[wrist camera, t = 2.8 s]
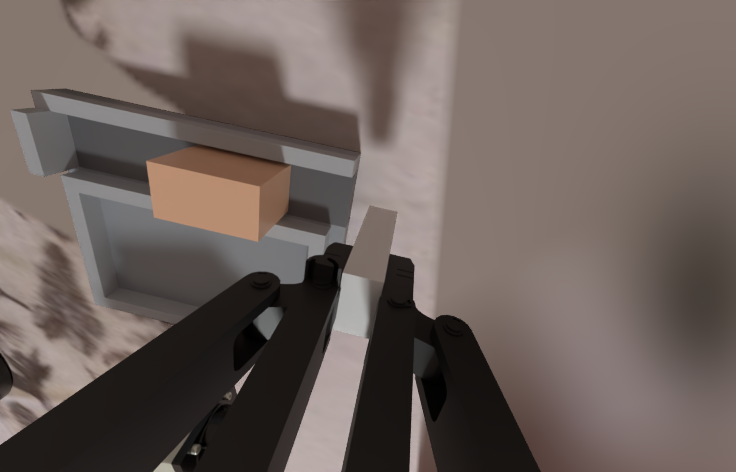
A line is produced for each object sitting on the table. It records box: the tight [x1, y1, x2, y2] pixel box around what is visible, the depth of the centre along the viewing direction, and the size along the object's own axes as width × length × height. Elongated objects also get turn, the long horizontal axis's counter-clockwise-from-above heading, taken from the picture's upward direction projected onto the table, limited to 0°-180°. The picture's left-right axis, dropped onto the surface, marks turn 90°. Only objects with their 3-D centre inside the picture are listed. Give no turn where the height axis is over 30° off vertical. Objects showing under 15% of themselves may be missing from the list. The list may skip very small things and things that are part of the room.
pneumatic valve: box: [153, 386, 237, 472], centre depth 26 cm, size 6×12×12 cm, turn 91°
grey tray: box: [10, 89, 361, 324], centre depth 23 cm, size 20×16×4 cm
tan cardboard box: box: [146, 144, 291, 242], centre depth 19 cm, size 6×3×4 cm, turn 80°
